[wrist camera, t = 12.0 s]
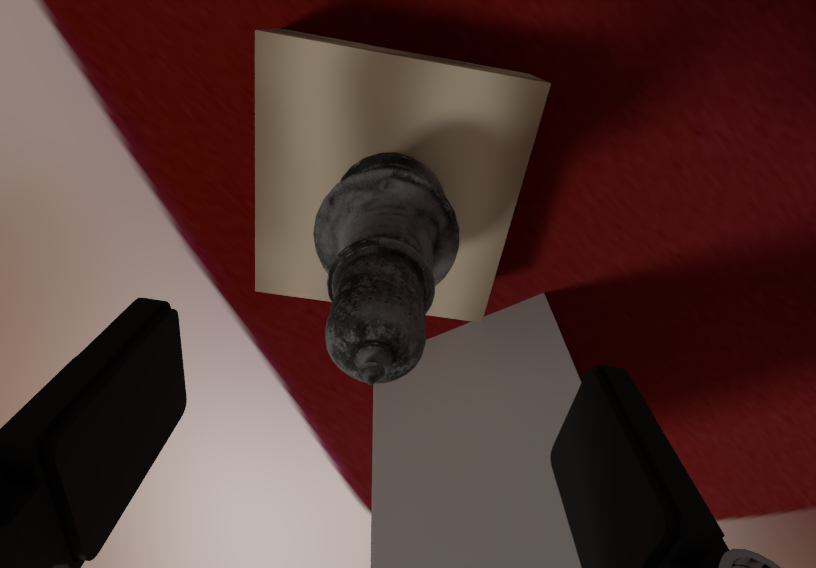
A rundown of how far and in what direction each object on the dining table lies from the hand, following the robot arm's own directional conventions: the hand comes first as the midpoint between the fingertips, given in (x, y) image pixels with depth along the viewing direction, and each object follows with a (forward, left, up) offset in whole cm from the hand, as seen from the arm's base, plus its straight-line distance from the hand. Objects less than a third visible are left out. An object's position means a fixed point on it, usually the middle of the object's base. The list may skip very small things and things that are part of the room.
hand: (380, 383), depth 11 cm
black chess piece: (0, 0, -13) cm, 13 cm away
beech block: (0, 0, -16) cm, 16 cm away
